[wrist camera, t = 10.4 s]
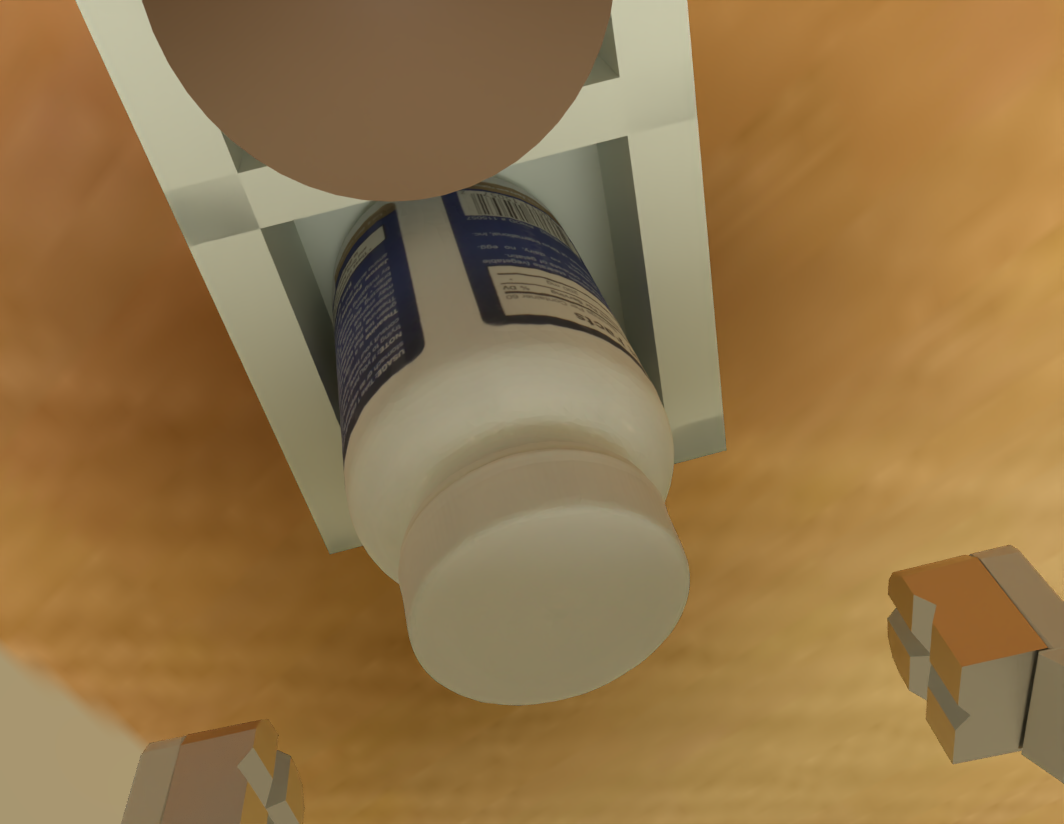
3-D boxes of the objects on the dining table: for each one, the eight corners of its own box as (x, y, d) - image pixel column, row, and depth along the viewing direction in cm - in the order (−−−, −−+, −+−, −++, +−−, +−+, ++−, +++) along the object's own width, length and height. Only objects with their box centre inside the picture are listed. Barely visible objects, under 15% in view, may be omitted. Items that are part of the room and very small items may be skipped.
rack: (673, 357, 23) (726, 450, 20) (320, 449, 23) (316, 557, 20) (569, -499, 14) (636, -585, 11) (-25, -360, 14) (-139, -405, 11)
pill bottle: (394, 416, 22) (448, 782, 14) (283, 228, 19) (276, 571, 11) (602, 329, 22) (771, 653, 14) (528, 123, 18) (696, 398, 11)
